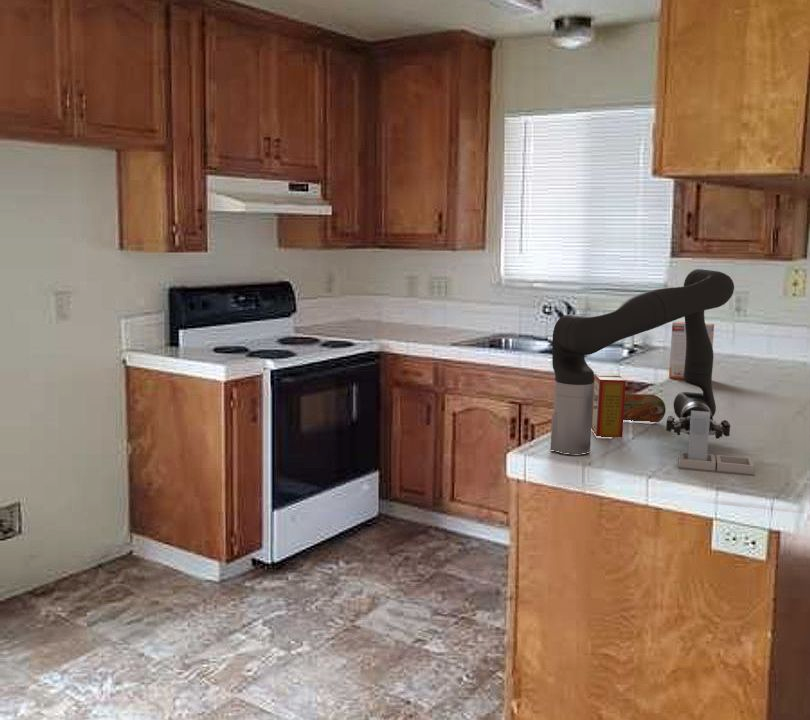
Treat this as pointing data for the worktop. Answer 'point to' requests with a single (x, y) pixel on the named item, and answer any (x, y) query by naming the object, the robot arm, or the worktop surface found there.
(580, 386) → the robot arm
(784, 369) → the worktop surface
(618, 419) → the baking soda box
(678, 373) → the cracker box
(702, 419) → the plug
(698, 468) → the grey divided tray
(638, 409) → the tin
